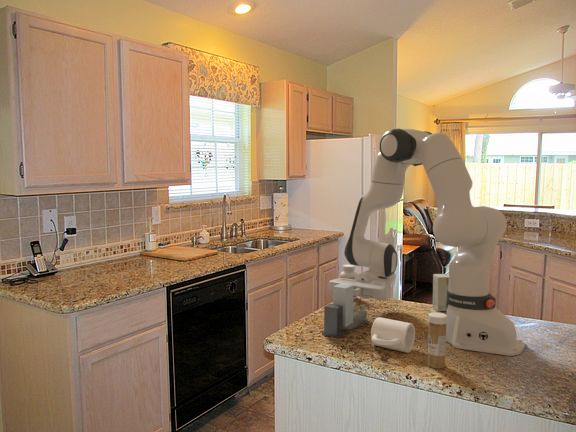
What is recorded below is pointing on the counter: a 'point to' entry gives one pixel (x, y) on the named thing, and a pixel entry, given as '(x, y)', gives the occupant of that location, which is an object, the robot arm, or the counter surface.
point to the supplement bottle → (348, 273)
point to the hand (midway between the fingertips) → (347, 293)
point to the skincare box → (440, 291)
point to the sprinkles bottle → (437, 340)
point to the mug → (393, 334)
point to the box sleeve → (344, 301)
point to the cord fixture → (335, 320)
